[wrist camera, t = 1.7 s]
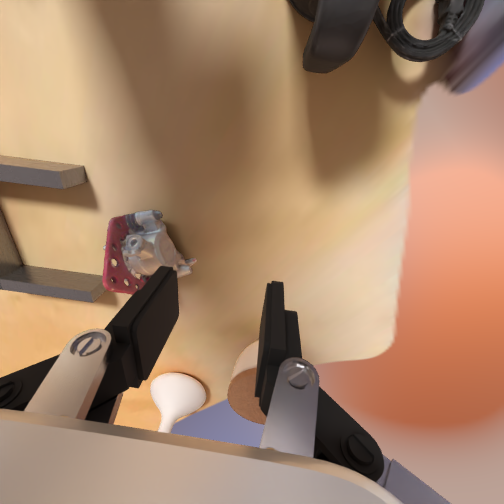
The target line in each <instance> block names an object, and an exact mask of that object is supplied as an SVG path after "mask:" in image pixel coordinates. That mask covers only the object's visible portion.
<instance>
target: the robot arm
mask: <svg viewBox="0 0 504 504" xmlns="http://www.w3.org/2000/svg"><path fill="white" fill-rule="evenodd" d="M178 316H179V303H178V283H177V271H176V270H174V269H173V267H168V266H160V267H159V268H158V269H157V270H156V271H155V273H154V274H153V275H152V276H151V278H150V279H149V280H148V281H147V282H146V284H145V285H144V286H143V287H142V289H141V290H137V291H136V292H135V293H134V294H133V295H132V297H131V298H130V299H129V300H128V301H127V302H126V304H125V305H124V306H123V307H122V308H121V310H120V311H119V312H118V313H117V314H116V316H115V317H114V318H113V319H112V320H111V322H110V323H109V324H108V325H107V326H106V328H105V329H90V330H87V331H84V332H82V333H80V334H78V335H76V336H75V337H74V338H72V339H71V340H70V341H69V342H68V344H67V345H66V346H65V348H64V349H63V351H62V353H61V354H60V355H57V356H54V357H52V358H49V359H47V360H44V361H42V362H39V363H37V364H34V365H32V366H29V367H27V368H24V369H22V370H19V371H16V372H14V373H11V374H9V375H6V376H4V377H1V378H0V504H451V503H450V502H448V501H447V500H446V499H445V498H443V497H442V496H441V495H439V494H438V493H437V492H436V491H434V490H433V489H432V488H430V487H429V486H428V485H427V484H425V483H424V482H423V481H421V480H420V479H419V478H418V477H416V476H415V475H414V474H412V473H411V472H410V471H408V470H407V469H406V468H404V467H403V466H402V465H401V464H400V463H398V462H397V461H396V460H394V459H392V461H390V460H389V459H388V458H387V457H385V456H384V455H383V454H382V452H381V450H380V448H379V446H378V444H377V443H376V441H375V440H374V439H373V438H372V437H371V435H370V434H369V433H368V432H366V431H365V430H364V429H363V428H362V427H361V426H360V425H359V424H358V423H357V422H356V421H355V420H354V419H353V418H352V417H351V416H350V415H349V414H348V413H347V412H345V411H344V410H343V409H342V408H341V407H340V406H339V405H338V404H337V403H336V402H335V401H334V400H333V399H332V398H331V397H329V395H328V394H327V393H326V392H325V391H323V390H322V389H321V388H320V387H319V375H318V373H317V371H316V369H315V368H314V367H313V365H312V364H310V363H309V362H308V361H306V360H304V359H302V353H301V344H300V335H299V326H298V317H297V312H295V311H288V310H285V309H284V286H283V282H277V281H272V283H271V284H270V283H267V287H266V293H265V300H264V306H263V312H262V318H261V324H260V333H259V345H258V358H257V370H256V383H255V396H254V397H258V398H259V407H260V410H261V411H262V412H263V413H264V415H265V416H266V417H267V419H266V423H265V426H264V430H263V434H262V439H261V443H260V446H259V448H257V447H251V446H245V445H238V444H232V443H227V442H220V441H214V440H208V439H202V438H195V437H189V436H183V435H177V434H171V433H164V432H158V431H152V430H145V429H139V428H132V427H126V426H120V425H113V424H114V421H115V418H116V415H117V411H118V408H119V405H120V402H121V399H122V396H123V392H124V391H126V390H128V389H129V387H134V388H139V387H140V385H141V383H142V381H143V380H147V379H148V377H149V375H150V373H151V371H152V369H153V367H154V365H155V363H156V361H157V359H158V357H159V355H160V353H161V351H162V349H163V347H164V345H165V343H166V341H167V339H168V337H169V335H170V333H171V331H172V329H173V327H174V325H175V323H176V321H177V319H178Z"/></svg>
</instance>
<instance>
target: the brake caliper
mask: <svg viewBox="0 0 504 504" xmlns="http://www.w3.org/2000/svg"><path fill="white" fill-rule="evenodd" d="M162 216H163V214H162V213H161V212H160V211H155V210H148V211H140V212H136V213H133V214H128V215H123V216H119V217H114V218H112V219H111V220H110V221H109V226H108V229H107V231H108V233H107V241H106V245H105V246H104V247H103V249H104V250H105V258H104V270H103V279H102V281H103V285H104V287H105V289H107V290H109V291H112V292H118V293H127V294H132V295H133V294H134V293H135V292H136V291H137V290H141V289H142V287H143V286H144V285H145V284H146V282H147V281H148V280H149V279H150V278H151V276H152V275H153V274H154V273H155V271H156V270H157V269H158V268H159V267H160V266H168V267H173V269H174V270H176V271H177V278H179V277H182V276H185V275H189V274H191V273H192V268H191V267H190V266H192V265H193V264H194V263H196V262H197V260H196V259H195V258H191V259H187V260H184V257H183V255H182V254H181V253H180V252H178V251H177V250H176V249H175V246H174V244H173V242H172V240H171V239H170V238H169V236H168V235H167V232H166V226H165V225H164V223H163V222H162V221H161V219H160V218H162ZM112 259H115V260H116V261H117V265H116V266H114V265H113V264H112V261H111V260H112ZM136 273H137V274H141V276H140V280H139V279H138V278H137V277H136V276H135V274H136ZM111 279H112V280H113V282H112V280H111ZM124 281H128V283H129V285H128V286H126V285H125V283H124ZM136 285H137V286H138V289H137V288H136V287H135V286H136Z"/></svg>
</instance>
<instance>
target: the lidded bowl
mask: <svg viewBox="0 0 504 504" xmlns="http://www.w3.org/2000/svg"><path fill="white" fill-rule="evenodd" d="M258 345H259V339H258V340H256V341H255V342H253V343H252V344H250V345H248V346H247V347H246V348H245V349H244V350H243V351H242V353H241V354H240V356H239V357H238V359H237V362H236V364H235V366H234V369H233V373H232V378H231V383H230V385H229V389H228V394H227V395H228V401H229V404H230V406H231V407H232V408H233V410H234V411H235V412H236V413H237V414H239V415H240V416H242V417H243V418H246V419H247V420H250V421H252V422H256V423H259V424H264V425H265V423H266V419H267V417H266V416H265V415H264V413H263V412H262V411H261V410H260V407H259V398H258V397H254V396H255V383H256V370H257V358H258Z"/></svg>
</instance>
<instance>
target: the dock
mask: <svg viewBox="0 0 504 504" xmlns="http://www.w3.org/2000/svg"><path fill="white" fill-rule="evenodd" d="M0 181H4V182H12V183H20V184H27V185H35V186H43V187H51V188H58V189H66V188H69V187H72V186H75V185H79V184H82V183H85V182H87V180H86V175H85V170H84V166H80V165H72V164H64V163H56V162H48V161H40V160H32V159H24V158H16V157H8V156H1V155H0ZM102 279H103V276H99V275H92V274H85V273H78V272H70V271H63V270H56V269H49V268H42V267H34V266H27V265H23V264H22V261H21V259H20V256H19V254H18V251H17V249H16V246H15V244H14V241H13V239H12V236H11V234H10V231H9V229H8V226H7V224H6V221H5V219H4V216H3V214H2V211H1V209H0V289H2V290H9V291H16V292H23V293H30V294H37V295H44V296H51V297H58V298H65V299H72V300H79V301H86V302H94V301H95V300H96V299H97V298H98V297H99V296H100V295H102V294H103V293H104V292H105V291H106V290H107V289H105V287H104V285H103V281H102Z"/></svg>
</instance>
